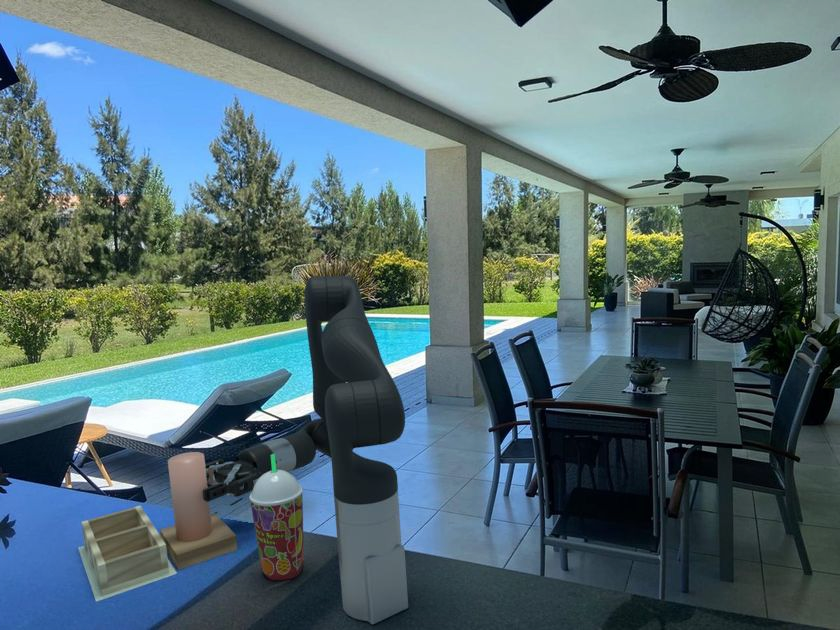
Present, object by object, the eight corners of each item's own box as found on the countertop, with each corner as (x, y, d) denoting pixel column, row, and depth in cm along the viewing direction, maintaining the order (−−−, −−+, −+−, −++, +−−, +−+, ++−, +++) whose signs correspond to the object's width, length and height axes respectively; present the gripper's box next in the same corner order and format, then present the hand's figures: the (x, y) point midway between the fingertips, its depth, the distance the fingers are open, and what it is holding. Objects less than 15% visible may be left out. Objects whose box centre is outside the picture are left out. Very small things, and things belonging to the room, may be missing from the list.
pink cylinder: (216, 534, 109) (208, 458, 107) (181, 545, 106) (172, 467, 104) (206, 522, 114) (198, 449, 112) (172, 532, 110) (164, 457, 109)
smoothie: (246, 580, 99) (234, 460, 96) (280, 555, 106) (270, 443, 104) (287, 591, 95) (275, 467, 92) (319, 564, 102) (309, 449, 100)
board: (237, 551, 108) (236, 535, 108) (178, 572, 103) (176, 555, 102) (216, 527, 118) (215, 512, 118) (161, 545, 112) (160, 529, 112)
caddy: (169, 573, 102) (165, 544, 101) (102, 596, 96) (98, 566, 95) (143, 530, 118) (140, 505, 117) (84, 547, 112) (81, 521, 112)
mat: (177, 575, 102) (177, 573, 101) (96, 603, 95) (96, 601, 95) (148, 528, 119) (147, 526, 119) (78, 549, 113) (78, 547, 113)
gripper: (244, 437, 125) (168, 462, 113) (288, 449, 116) (211, 478, 104) (247, 472, 126) (172, 501, 114) (291, 487, 117) (215, 520, 105)
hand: (191, 490), depth 109 cm, fingers open, 8 cm apart
